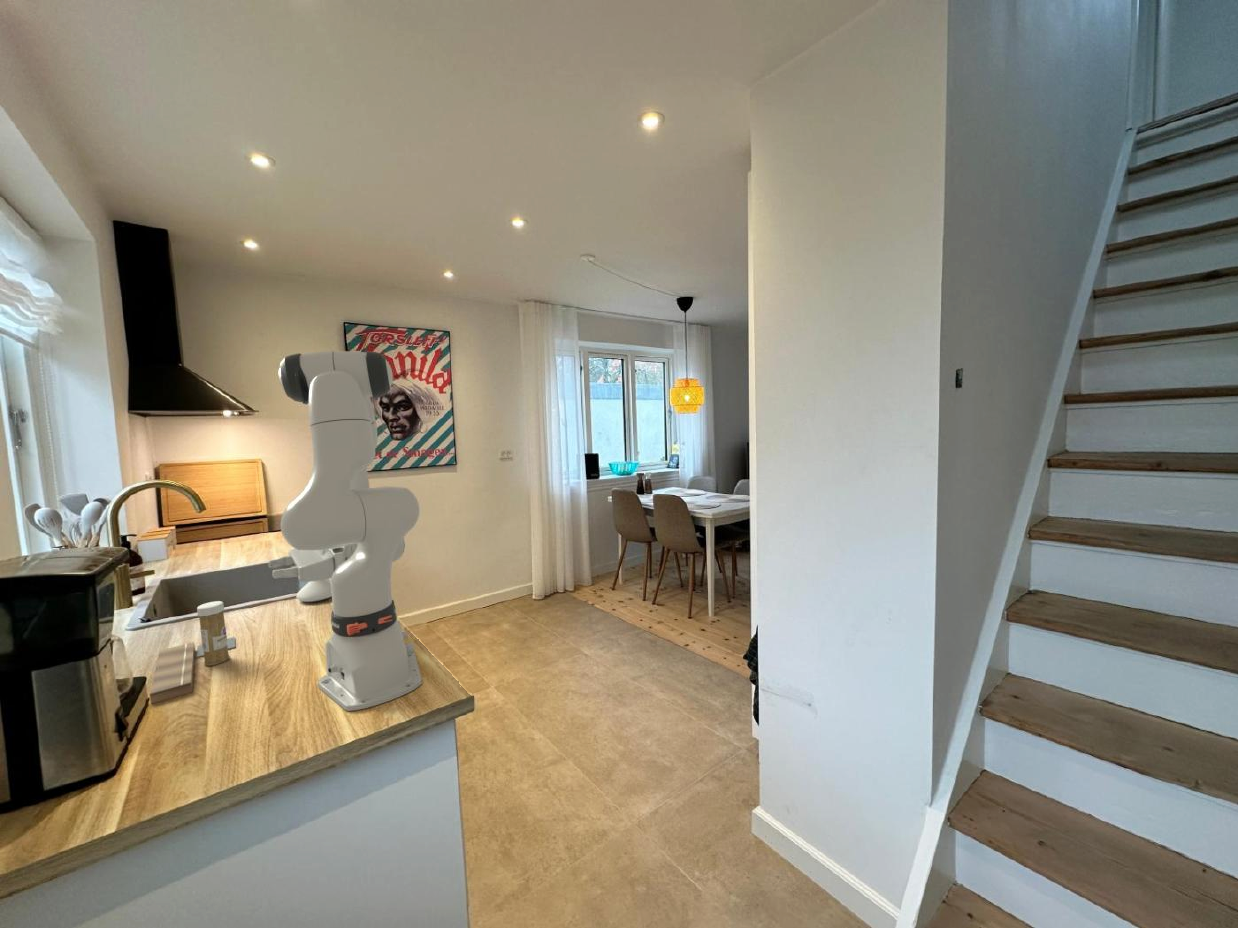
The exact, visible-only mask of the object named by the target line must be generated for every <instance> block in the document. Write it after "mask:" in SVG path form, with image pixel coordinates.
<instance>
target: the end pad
mask: <svg viewBox="0 0 1238 928" xmlns="http://www.w3.org/2000/svg"><path fill="white" fill-rule="evenodd" d="M227 642H228V644H227V646H228V651H229V650H232V649H236V648H237V647H236V639H235V636H233V637H229V638H228V637H227ZM202 657H204V651H203V647H202V644H200V645H198V646H197V655H196V658H202Z"/></svg>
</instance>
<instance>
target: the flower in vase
mask: <svg viewBox="0 0 1238 928" xmlns="http://www.w3.org/2000/svg"><path fill="white" fill-rule="evenodd" d="M330 581H331V580H329V579H324V580H318V581H311V582H306V584H305V585H304V586H303V587H302V588H301V589H300V590H299V591H298V592H297V594H296V599H297V600H298V601H300V602H319V601H323V600H327V599H329V598H332V593H331V582H330Z"/></svg>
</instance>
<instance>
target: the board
mask: <svg viewBox="0 0 1238 928" xmlns="http://www.w3.org/2000/svg"><path fill="white" fill-rule="evenodd" d="M195 656H196V647H195V642H194V641H192V642H189V643H183V644H181V645H177V646H173V647H172V646H171V647H168V648H165V649H160V650H159V652H158V657H157V660H156V664H155V665H156V666H155V670H154V676H153V678H152V679H153V680H152V682H151V688H150V692H149V698H150V704H152V705H153V704H155V703H159V702H162V701H165V700H170V699H172V698H176V697H179V696H182V695H187V694H190V693H193V688H194V687H193V685H194V671H195V670H194V668H195Z"/></svg>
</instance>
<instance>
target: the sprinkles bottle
mask: <svg viewBox="0 0 1238 928" xmlns="http://www.w3.org/2000/svg"><path fill="white" fill-rule="evenodd" d="M224 610H225V606H224V602H223V601H220V600H215V601H210V602H206V603H202V604H200V605H198V606H197V608H196V611H197V616H198V618H199V627H200V628H199V631H200V639H201V645H202V647H203V651H204V656H203V658H204V662H203V663H204V665H205V666H208V667H211V666H217V665H219V664H222V663H225V662H226V661H228V660H229V659H230V654H229V653H230V652H229V650H228V646H227V644H228V642H227V639H228V634H227V626H226V623H225V615H224V614H225V613H224Z"/></svg>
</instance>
